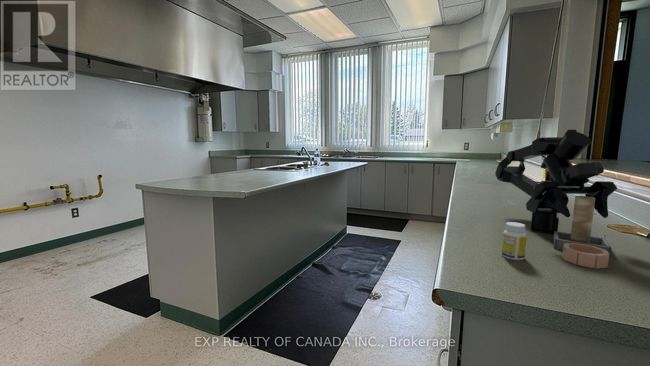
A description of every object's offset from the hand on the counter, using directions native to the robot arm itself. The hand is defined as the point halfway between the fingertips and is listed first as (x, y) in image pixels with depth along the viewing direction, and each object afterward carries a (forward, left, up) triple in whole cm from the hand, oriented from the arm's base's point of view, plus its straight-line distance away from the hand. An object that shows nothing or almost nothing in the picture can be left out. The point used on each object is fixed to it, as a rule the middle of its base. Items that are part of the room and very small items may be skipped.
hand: (587, 216), depth 77 cm
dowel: (-1, +1, -8) cm, 8 cm away
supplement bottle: (-15, -17, -9) cm, 24 cm away
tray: (-1, +1, -9) cm, 9 cm away
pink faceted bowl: (-1, -10, -9) cm, 13 cm away
